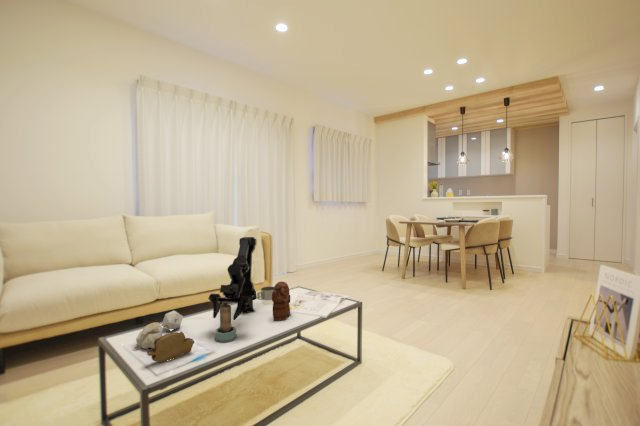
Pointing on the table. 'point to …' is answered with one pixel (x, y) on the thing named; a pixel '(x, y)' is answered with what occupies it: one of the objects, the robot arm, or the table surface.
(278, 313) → the wooden figurine
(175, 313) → the die
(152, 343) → the fossil replica
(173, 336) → the wooden carving
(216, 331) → the teal bowl
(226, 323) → the walnut peg
